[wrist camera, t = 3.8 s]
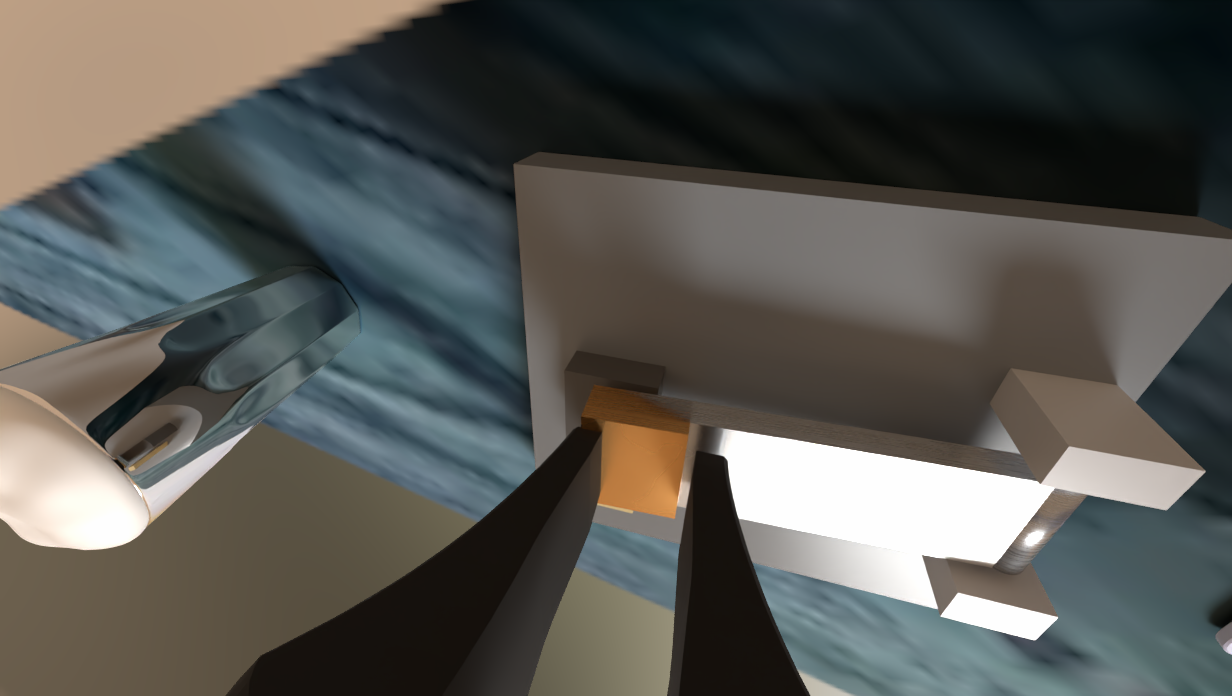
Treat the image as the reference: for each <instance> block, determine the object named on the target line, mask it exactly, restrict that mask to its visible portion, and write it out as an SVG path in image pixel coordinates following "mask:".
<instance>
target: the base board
mask: <svg viewBox="0 0 1232 696" xmlns="http://www.w3.org/2000/svg"><path fill="white" fill-rule="evenodd" d="M513 166H514V179H515V193H516V207H517V220H518V234H519V248H520V261H521V275H522V289H523V302H524V316H525V330H526V343H527V357H528V371H529V385H530V398H531V412H532V426H533V439H534V453H535V467H536V469H537V468H538V467H539V466H540V465H541V464H542V463H543V462H544V461H545V460H546V459H547V458H548V457H549V456H550V455H551V454H552V453H553V452H554V451H555V449H556V448H557V447H558V446H559V445H560V444H561V443H562V442H563V441H564V439H565V438H566V437H567V436H568V435H569V434H570V433H571V431H572V430H573V429H575V428H576V427H581V415H582V413H583V410H584V408H585V406H586V403H587V401H588V398H589V396H590V394H591V391H592V389H593V386H594V385H599V386H605V387H611V388H617V389H623V390H629V391H636V392H642V393H648V394H654V395H660V396H666V397H673V398H679V399H685V400H691V401H697V402H704V403H710V404H716V405H722V406H728V407H734V408H741V409H747V410H753V411H759V412H765V413H771V414H778V415H784V416H790V417H796V418H802V419H808V420H815V421H821V422H827V423H833V424H839V425H846V426H852V427H858V428H864V429H870V430H876V431H883V432H889V433H895V434H901V435H907V436H913V437H920V438H926V439H932V440H938V441H944V442H951V443H957V444H963V445H969V446H975V447H981V448H988V449H994V450H1000V451H1006V452H1012V453H1018V454H1021V455H1022V457H1023V459H1024V460H1025V462H1026V463H1027V465H1028V467H1029V468H1030V470H1031V472H1032V473H1033V475H1034V476H1035V478H1036V480H1037V481H1038V483H1039V485H1042V486H1047V487H1052V488H1057V489H1062V490H1067V491H1072V492H1077V493H1082V494H1087V495H1092V496H1097V497H1102V498H1107V499H1112V500H1117V501H1122V502H1127V503H1132V504H1137V505H1142V506H1147V507H1152V508H1157V509H1162V510H1167V509H1168V508H1169V507H1170V506H1171V505H1172V504H1173V503H1174V502H1175V501H1176V500H1177V499H1178V498H1179V497H1180V496H1181V495H1182V494H1183V493H1184V492H1185V491H1187V490H1188V489H1189V488H1190V487H1191V486H1192V485H1193V484H1194V483H1195V482H1196V481H1197V480H1198V479H1199V478H1200V477H1201V476H1202V475H1203V474H1204V473H1205V472H1206V471H1205V470H1204V469H1203V468H1202V467H1201V466H1200V465H1199V464H1198V463H1197V462H1196V461H1195V460H1194V459H1193V458H1191V457H1190V456H1189V455H1188V454H1187V453H1186V452H1185V451H1184V450H1183V449H1182V448H1181V447H1180V446H1179V445H1178V444H1177V443H1176V442H1175V441H1174V440H1173V439H1172V438H1171V437H1170V436H1169V435H1168V434H1167V433H1166V432H1165V431H1164V430H1163V429H1162V428H1161V427H1160V426H1159V425H1158V424H1157V423H1156V422H1155V421H1154V420H1153V419H1152V418H1151V417H1150V416H1148V415H1147V414H1146V413H1145V412H1144V411H1143V410H1142V409H1141V408H1140V407H1139V406H1138V405H1137V404H1136V403H1135V402H1136V401H1137V399H1138V398H1139V397H1140V396H1141V395H1142V393H1143V392H1144V391H1145V390H1146V388H1147V387H1148V386H1149V385H1150V383H1151V382H1152V381H1153V380H1154V378H1155V377H1156V376H1157V375H1158V373H1159V372H1160V371H1161V370H1162V368H1163V367H1164V366H1165V365H1166V363H1167V362H1168V361H1169V360H1170V359H1171V357H1172V356H1173V355H1174V354H1175V352H1176V351H1177V350H1178V349H1179V347H1180V346H1181V345H1182V344H1183V342H1184V341H1185V340H1186V339H1187V337H1188V336H1189V335H1190V334H1191V332H1192V331H1193V330H1194V329H1195V328H1196V326H1197V325H1198V324H1199V323H1200V321H1201V320H1202V319H1203V318H1204V316H1205V315H1206V314H1207V313H1208V311H1209V310H1210V309H1211V308H1212V306H1213V305H1214V304H1215V303H1216V301H1217V300H1218V299H1219V298H1220V296H1221V295H1222V294H1223V293H1224V292H1225V290H1226V289H1227V288H1228V287H1229V285H1230V284H1231V283H1232V230H1231V229H1228V228H1226V227H1223V226H1221V225H1218V224H1216V223H1213V222H1211V221H1208V220H1206V219H1203V218H1201V217H1193V216H1183V215H1173V214H1163V213H1153V212H1143V211H1133V210H1123V209H1112V208H1102V207H1092V206H1082V205H1072V204H1062V203H1052V202H1042V201H1031V200H1021V199H1011V198H1001V197H991V196H981V195H971V194H961V193H950V192H940V191H930V190H920V189H910V188H900V187H890V186H880V185H869V184H859V183H849V182H839V181H829V180H819V179H809V178H799V177H788V176H778V175H768V174H758V173H748V172H738V171H728V170H718V169H708V168H697V167H687V166H677V165H667V164H657V163H647V162H637V161H627V160H616V159H606V158H596V157H586V156H576V155H566V154H556V153H546V152H537V153H535V154H533V155H531V156H529V157H527V158H525V159H523V160H521V161H518V162H516V163H514V164H513ZM685 511H686V508H684V507H679V506H677V508H676V515H675V519H673V518H668V517H663V516H658V515H653V514H648V513H643V512H638V511H633V510H628V509H623V508H618V507H613V506H608V505H603V504H598V503H597V507H596V510H595V514H594V517H593V520H592V522H595V523H599V524H603V525H606V526H610V527H614V528H618V529H622V530H626V531H630V532H634V533H638V534H642V535H646V536H650V537H654V538H658V539H662V540H666V541H670V542H674V543H678V544H680V542H681V536H682V530H683V523H684V517H685ZM739 522H740V525H741V529H742V532H743V535H744V539H745V542H746V545H747V548H748V552H749V555H750V558H751V561H752V562H753V563H757V564H761V565H765V566H769V567H773V568H777V569H781V570H785V571H789V572H793V573H797V574H800V575H804V576H808V577H812V578H816V579H820V580H824V581H828V582H832V583H836V584H840V585H844V586H848V587H852V588H856V589H860V590H864V591H868V592H872V593H876V594H880V595H884V596H888V597H892V598H895V599H899V600H903V601H907V602H911V603H915V604H919V605H923V606H927V607H931V608H935V609H938V610H939V614H940V616H941V617H945V618H949V619H953V620H957V621H961V622H965V623H969V624H973V625H976V626H980V627H984V628H988V629H992V630H996V631H1000V632H1004V633H1008V634H1012V635H1016V636H1020V637H1024V638H1027V639H1031V640H1036V639H1037V638H1038V637H1039V636H1040V635H1041V634H1042V633H1043V632H1044V631H1045V630H1046V629H1047V628H1048V627H1049V626H1050V625H1051V624H1052V623H1053V622H1054V621H1055V620H1056V619H1057V618H1058V616H1057V614H1056V612H1055V610H1054V608H1053V606H1052V604H1051V602H1050V600H1049V598H1048V596H1047V594H1046V592H1045V590H1044V588H1043V586H1042V584H1041V582H1040V580H1039V578H1038V576H1037V574H1036V572H1035V570H1034V568H1033V566H1032V564H1031V563H1029V565H1028V566H1027V567H1026V568H1025V569H1024V570H1023V572H1022V573H1020V574H1018V575H1007V574H1004V573H1001V572H998V571H996V570H994V569H993V568H990V567H985V566H980V565H974V564H969V563H964V562H959V561H954V560H949V559H944V558H939V557H934V556H929V555H924V554H918V553H913V552H908V551H903V550H898V549H893V548H888V547H883V546H878V545H873V544H868V543H862V542H857V541H852V540H847V539H842V538H837V537H832V536H827V535H822V534H817V533H812V532H806V531H801V530H796V529H791V528H786V527H781V526H776V525H771V524H766V523H761V522H756V521H750V520H745V519H740V518H739Z"/></svg>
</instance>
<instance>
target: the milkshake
mask: <svg viewBox="0 0 1232 696" xmlns="http://www.w3.org/2000/svg"><path fill="white" fill-rule="evenodd" d="M360 333H361V332H360V322H359V311H358V308H357V307H356V305H355V304H354V302H353V301H352V299H351V298H350V296H349V295H348V293H347V292H346V290H345V289H344V287H343V286H342V284H341V283H339V282H338V281H336V280H334V279H333V278H331V277H330V276H328V275H327V274H325V273H324V272H322V271H321V270H319V269H318V268H316V267H310V266H287V267H284V268H282V269H279V270H276V271H273V272H271V273H268V274H265V275H262V276H260V277H257V278H254V279H252V280H249V281H246V282H243V283H241V284H238V285H235V286H232V287H230V288H227V289H224V290H222V291H219V292H216V293H213V294H211V295H208V296H205V297H202V298H200V299H197V300H194V301H192V302H189V303H186V304H183V305H181V306H178V307H175V308H173V309H170V310H167V311H164V312H162V313H159V314H156V315H154V316H151V317H148V318H146V319H143V320H140V321H138V322H135V323H132V324H130V325H127V326H124V327H121V328H119V329H116V330H113V331H110V332H107V333H104V334H101V335H99V336H96V337H93V338H90V339H87V340H84V341H81V342H78V343H75V344H72V345H70V346H66V347H64V348H61V349H58V350H55V351H52V352H49V353H46V354H43V355H40V356H37V357H34V358H32V359H28V360H25V361H22V362H19V363H17V364H14V365H11V366H8V367H5V368H2V369H0V518H1V519H2V520H4V521H5V522H6V523H7V524H9V525H10V527H11V528H12V529H13V530H14V531H15V532H16V533H17V534H18V535H19V536H20V537H22V538H23V539H24V540H26V541H28V542H30V543H33V544H37V545H42V546H50V547H66V548H74V549H82V550H92V549H93V550H94V549H105V548H111V547H116V546H119V545H122V544H125V543H128V542H130V541H131V540H133V539H134V538H136V537H137V536H139V535H140V534H141V533H142V531H143V530H144V529H145V528H146V527H147V526H148V525H149V524H150V523H152V522H153V521H154V520H155V519H156V518H157V517H158V516H159V515H160V514H161V513H163V512H164V511H165V510H166V509H167V508H168V507H169V506H170V505H171V504H172V503H173V502H175V501H176V500H177V499H178V498H179V497H180V496H181V495H182V494H183V493H184V492H185V491H187V490H188V489H189V488H190V487H191V486H192V485H193V484H194V483H195V482H196V481H197V480H198V479H200V478H201V477H202V476H203V475H204V474H205V473H206V472H207V471H208V470H209V469H210V468H212V467H213V466H214V465H215V464H216V463H217V462H218V461H219V460H220V459H221V458H222V457H223V456H224V455H226V454H227V453H228V452H229V451H230V450H231V449H232V447H233V446H234V445H235V444H236V443H237V442H238V441H239V440H240V439H241V438H242V437H243V436H244V435H246V434H247V433H248V432H249V431H250V430H251V429H252V428H253V427H255V426H256V425H257V424H258V423H259V422H260V421H262V420H263V419H264V418H265V417H266V416H267V415H268V414H270V413H271V412H272V411H273V410H274V409H275V408H277V407H278V406H279V405H280V404H281V403H282V402H284V401H285V400H286V399H287V398H288V397H289V396H290V395H292V394H293V393H294V392H295V391H296V390H297V389H299V388H300V387H301V386H302V385H303V384H304V383H306V382H307V381H308V380H309V379H310V378H311V377H313V376H314V375H315V374H316V373H317V372H318V371H320V370H321V369H322V368H323V367H324V366H325V365H327V364H328V363H329V362H330V361H331V360H332V359H334V358H335V357H336V356H337V355H338V354H339V353H341V352H342V351H343V350H344V349H345V348H346V347H347V346H348V345H349V344H350V343H351V342H352V341H353V340H354V339H355V338H356V337H357V336H358V335H359V334H360Z"/></svg>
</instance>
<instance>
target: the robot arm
mask: <svg viewBox="0 0 1232 696" xmlns="http://www.w3.org/2000/svg"><path fill="white" fill-rule="evenodd" d="M601 458H602V432H598V431H592V430H587V429H581V427H576V428H575V429H573V430H572V431H571V433H570V434H569V435H568V436H567V437H566V438H565V439H564V441H563V442H562V443H561V444H560V445H559V446H558V447H557V448H556V449H555V451H554V452H553V453H552V454H551V455H550V456H549V457H548V458H547V459H546V460H545V461H544V462H543V463H542V464H541V465H540V466H539V467H538V468H537V469H536V470H535V471H534V472H533V473H532V474H531V475H530V476H529V477H528V478H527V479H526V480H525V481H524V482H523V483H522V484H521V485H520V486H519V487H518V488H517V489H516V490H515V491H513V492H512V493H511V494H510V495H509V496H508V497H507V498H506V499H504V500H503V501H502V502H501V503H500V504H499V505H498V506H496V507H495V508H494V509H493V510H492V511H491V512H490V513H489V514H487V515H486V516H485V517H484V518H483V519H481V520H480V521H479V522H478V523H477V524H475V525H474V526H473V527H472V528H471V529H469V530H468V531H467V532H465V533H464V534H463V535H461V536H460V537H459V538H457V539H456V540H455V541H454V542H452V543H451V544H450V545H448V546H447V547H445V548H444V549H443V550H441V551H440V552H438V553H437V554H436V555H434V556H433V557H431V558H430V559H428V560H427V561H425V562H424V563H423V564H421V565H420V566H418V567H417V568H415V569H414V570H413V571H411V572H409V573H408V574H406V575H405V576H403V577H402V578H400V579H399V580H397V581H395V582H394V583H392V584H391V585H389V586H387V587H386V588H384V589H382V590H381V591H379V592H378V593H376V594H374V595H372V596H371V597H369V598H367V599H365V600H364V601H362V602H360V603H359V604H357V605H356V606H354V607H352V608H350V609H349V610H347V611H345V612H344V613H342V614H340V615H338V616H336V617H335V618H333V619H331V620H329V621H327V622H325V623H323V624H321V625H319V626H318V627H316V628H314V629H312V630H310V631H308V632H306V633H304V634H302V635H300V636H298V637H297V638H294V639H293V640H290V641H289V642H287V643H285V644H283V645H281V646H279V647H277V648H275V649H273V650H271V651H269V652H267V653H265V654H263V655H261V656H260V657H259V658H258V659H257V661H255V663H254V664H253V665H252V666H251V667H250V668H249V669H248V670H247V671H246V672H245V673H244V675H243V676H242V677H241V678H240V679H239V680H238V681H237V682H236V684H235V685H234V686H233V687H232V689H231V690H230V691H229V692H228V694H227V695H226V696H528V693H529V690H530V686H531V683H532V680H533V677H534V674H535V670H536V667H537V664H538V661H539V657H540V655H541V651H542V648H543V645H544V642H545V639H546V637H547V634H548V631H549V629H550V626H551V623H552V620H553V618H554V616H555V613H556V611H557V608H558V606H559V603H560V601H561V599H562V596H563V594H564V592H565V589H566V587H567V584H568V582H569V580H570V577H571V575H572V572H573V570H574V568H575V565H576V563H577V560H578V558H579V555H580V553H581V550H582V548H583V546H584V543H585V541H586V538H587V536H588V533H589V530H590V527H591V524H592V520H593V517H594V514H595V510H596V507H597V503H598V500H599V496H600V489H601ZM1215 636H1216V640H1217V641H1218V643H1219V644H1220V645H1221V647H1222V648H1223V649H1224V650H1225V651H1226V652H1227V653H1229V654H1232V622H1230V623H1229V624H1228V625H1226V626H1225V627H1223V628H1222V629H1221V630H1219V631H1218V633H1217V634H1216V635H1215ZM667 696H810V694H809V692H808V691H807V689H806V686H805V685H804V683H803V681H802V679H801V677H800V675H799V673H798V671H797V669H796V667H795V664H794V662H793V660H792V658H791V656H790V654H789V652H788V650H787V647H786V645H785V643H784V641H783V639H782V636H781V634H780V632H779V630H778V627H777V625H776V623H775V620H774V618H773V616H772V613H771V611H770V608H769V606H768V604H767V601H766V599H765V596H764V593H763V591H762V588H761V586H760V583H759V580H758V577H757V575H756V572H755V569H754V566H753V563H752V561H751V558H750V555H749V552H748V548H747V545H746V542H745V539H744V535H743V532H742V529H741V525H740V522H739V518H738V514H737V511H736V506H735V502H734V498H733V493H732V488H731V483H730V477H729V469H728V461H727V459H726V458H725V457H724V456H721V455H716V454H711V453H706V452H701V451H696V455H695V461H694V467H693V472H692V478H691V483H690V489H689V494H688V500H687V505H686V511H685V517H684V523H683V530H682V536H681V542H680V548H679V556H678V571H677V586H676V602H675V617H674V633H673V649H672V661H671V671H670V681H669V687H668V694H667Z"/></svg>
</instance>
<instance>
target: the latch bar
mask: <svg viewBox="0 0 1232 696" xmlns="http://www.w3.org/2000/svg"><path fill="white" fill-rule="evenodd" d="M581 429H587V430H592V431H598V432H602V458H601V489H600V496H599V500H598V504H603V505H608V506H613V507H618V508H623V509H628V510H633V511H638V512H643V513H648V514H653V515H658V516H663V517H668V518H673V519H675V515H676V508H677V506H679V507H684V508H686V505H687V500H688V494H689V489H690V483H691V478H692V472H693V467H694V461H695V455H696V451H701V452H706V453H711V454H716V455H721V456H724V457H725V458H726V459H727V461H728V469H729V477H730V483H731V488H732V493H733V498H734V502H735V506H736V511H737V514H738V518H740V519H745V520H750V521H756V522H761V523H766V524H771V525H776V526H781V527H786V528H791V529H796V530H801V531H806V532H812V533H817V534H822V535H827V536H832V537H837V538H842V539H847V540H852V541H857V542H862V543H868V544H873V545H878V546H883V547H888V548H893V549H898V550H903V551H908V552H913V553H918V554H924V555H929V556H934V557H939V558H944V559H949V560H954V561H959V562H964V563H969V564H974V565H980V566H985V567H990V568H993V569H994V570H996V571H998V572H1001V573H1004V574H1007V575H1018V574H1020V573H1022V572H1023V570H1024V569H1025V568H1026V567H1027V566H1028V565H1029V563H1030V562H1031V561H1032V560H1033V559H1034V558H1035V556H1036V555H1037V554H1038V553H1039V552H1040V551H1041V549H1042V548H1043V547H1044V546H1045V545H1046V543H1047V542H1048V541H1049V540H1050V539H1051V538H1052V536H1053V535H1054V534H1055V533H1056V532H1057V531H1058V529H1059V528H1060V527H1061V526H1062V525H1063V524H1064V522H1065V521H1066V520H1067V519H1068V518H1069V516H1070V515H1071V514H1072V513H1073V512H1074V511H1075V509H1076V508H1077V507H1078V506H1079V505H1080V504H1081V502H1082V501H1083V500H1084V499H1085V498H1086V497H1087V494H1082V493H1077V492H1072V491H1067V490H1062V489H1057V488H1052V487H1047V486H1042V485H1039V483H1038V481H1037V480H1036V478H1035V476H1034V475H1033V473H1032V472H1031V470H1030V468H1029V467H1028V465H1027V463H1026V462H1025V460H1024V459H1023V457H1022V455H1021V454H1018V453H1012V452H1006V451H1000V450H994V449H988V448H981V447H975V446H969V445H963V444H957V443H951V442H944V441H938V440H932V439H926V438H920V437H913V436H907V435H901V434H895V433H889V432H883V431H876V430H870V429H864V428H858V427H852V426H846V425H839V424H833V423H827V422H821V421H815V420H808V419H802V418H796V417H790V416H784V415H778V414H771V413H765V412H759V411H753V410H747V409H741V408H734V407H728V406H722V405H716V404H710V403H704V402H697V401H691V400H685V399H679V398H673V397H666V396H660V395H654V394H648V393H642V392H636V391H629V390H623V389H617V388H611V387H605V386H599V385H594V386H593V389H592V391H591V394H590V396H589V398H588V401H587V403H586V406H585V408H584V410H583V413H582V415H581Z"/></svg>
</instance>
